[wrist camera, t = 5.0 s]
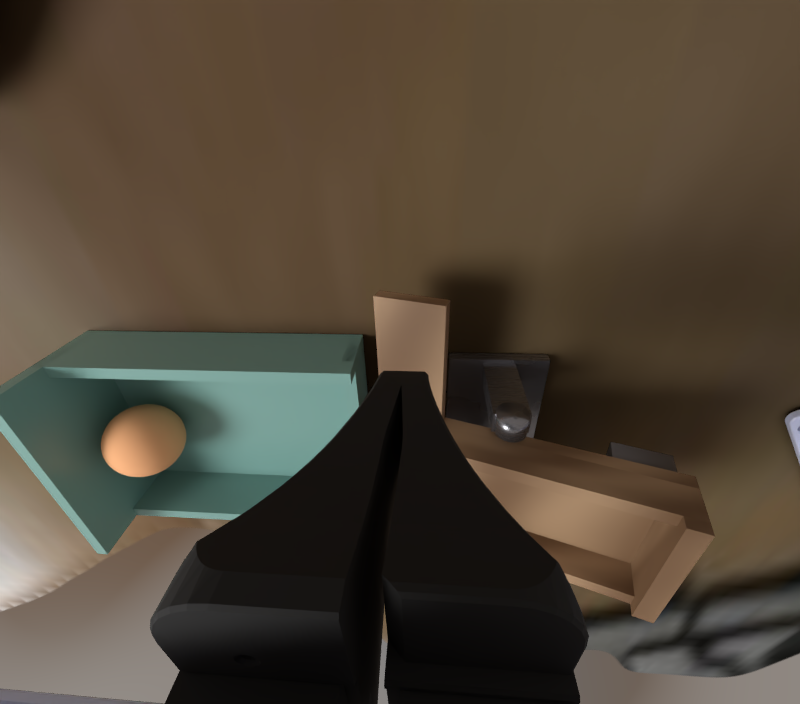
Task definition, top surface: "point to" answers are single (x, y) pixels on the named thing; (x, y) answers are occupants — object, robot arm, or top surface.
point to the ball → (143, 440)
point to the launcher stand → (497, 391)
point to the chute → (565, 480)
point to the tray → (196, 406)
